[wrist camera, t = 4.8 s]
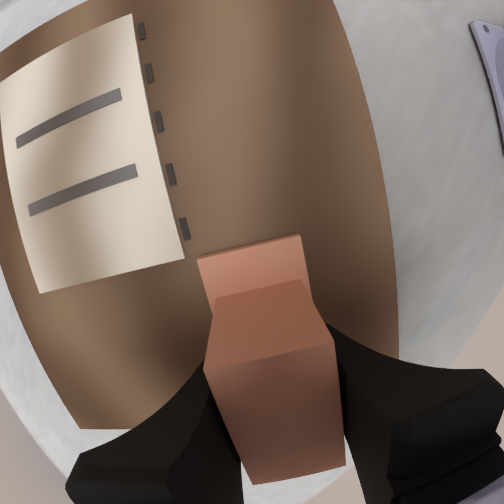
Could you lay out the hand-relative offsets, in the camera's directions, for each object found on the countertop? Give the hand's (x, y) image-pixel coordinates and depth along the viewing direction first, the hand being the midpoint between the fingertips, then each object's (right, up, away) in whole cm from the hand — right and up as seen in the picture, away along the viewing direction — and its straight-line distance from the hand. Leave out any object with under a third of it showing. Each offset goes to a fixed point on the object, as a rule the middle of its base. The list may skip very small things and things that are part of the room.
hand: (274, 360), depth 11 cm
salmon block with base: (0, 0, +1) cm, 1 cm away
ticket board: (-4, +6, +1) cm, 7 cm away
